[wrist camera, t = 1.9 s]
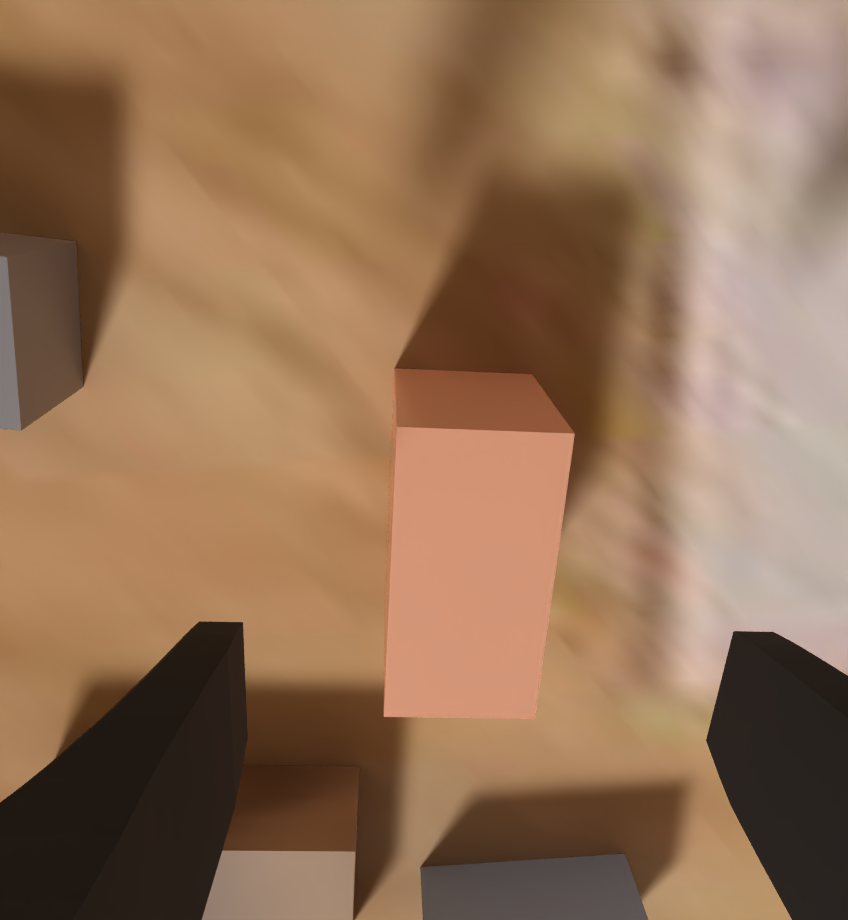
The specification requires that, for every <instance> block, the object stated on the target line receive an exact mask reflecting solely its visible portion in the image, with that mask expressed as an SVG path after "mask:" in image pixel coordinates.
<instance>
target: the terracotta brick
mask: <svg viewBox="0 0 848 920" xmlns="http://www.w3.org/2000/svg"><path fill="white" fill-rule="evenodd" d="M574 436H575V433H574V432H573V430H572V429H571V428H570V426H569V425H568V424H567V422H566V421H565V419H564V418H563V417H562V415H561V414H560V412H559V411H558V410H557V408H556V407H555V406H554V404H553V403H552V401H551V400H550V399H549V397H548V396H547V394H546V393H545V392H544V390H543V389H542V387H541V386H540V385H539V383H538V382H537V381H536V379H535V378H534V376H533V375H532V374H514V373H491V372H468V371H445V370H422V369H399V368H394V391H393V414H392V438H391V461H390V485H389V508H388V532H387V555H386V578H385V602H384V717H434V718H516V719H535V715H536V708H537V701H538V693H539V686H540V679H541V672H542V665H543V658H544V650H545V643H546V636H547V629H548V622H549V615H550V608H551V600H552V593H553V586H554V579H555V572H556V565H557V557H558V550H559V543H560V536H561V529H562V522H563V514H564V507H565V500H566V493H567V486H568V479H569V471H570V464H571V457H572V450H573V443H574Z"/></svg>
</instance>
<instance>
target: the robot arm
mask: <svg viewBox="0 0 848 920" xmlns="http://www.w3.org/2000/svg"><path fill="white" fill-rule="evenodd" d="M706 741H707V744H708V747H709V749H710V752H711V755H712V758H713V760H714V763H715V766H716V769H717V771H718V774H719V777H720V779H721V782H722V784H723V787H724V789H725V792H726V794H727V797H728V799H729V802H730V804H731V807H732V808H733V810H734V812H735V814H736V816H737V818H738V820H739V822H740V824H741V826H742V828H743V830H744V831H745V833H746V835H747V837H748V839H749V841H750V843H751V845H752V847H753V848H754V850H755V852H756V854H757V856H758V858H759V860H760V862H761V863H762V865H763V867H764V869H765V871H766V873H767V874H768V876H769V878H770V880H771V882H772V884H773V885H774V887H775V889H776V891H777V893H778V895H779V896H780V898H781V900H782V902H783V904H784V906H785V907H786V909H787V911H788V913H789V915H790V917H791V918H792V920H848V676H847V675H845V674H844V673H842V672H841V671H839V670H838V669H836V668H834V667H833V666H831V665H830V664H828V663H826V662H825V661H823V660H821V659H820V658H818V657H817V656H815V655H813V654H812V653H810V652H808V651H807V650H805V649H803V648H802V647H800V646H798V645H796V644H795V643H793V642H791V641H789V640H788V639H786V638H784V637H782V636H780V635H778V634H776V633H774V632H742V631H734V632H733V636H732V640H731V644H730V648H729V652H728V656H727V660H726V664H725V668H724V672H723V676H722V680H721V684H720V688H719V692H718V696H717V700H716V704H715V708H714V711H713V715H712V719H711V723H710V727H709V731H708V735H707V739H706ZM246 742H247V714H246V689H245V664H244V638H243V622H198V623H197V624H196V625H195V626H194V627H193V628H192V629H191V630H190V631H189V632H188V633H187V634H186V635H185V636H184V637H183V638H182V639H181V640H180V641H179V642H178V643H177V644H176V645H175V646H174V647H173V648H172V649H171V650H170V651H169V652H168V653H167V654H166V655H165V656H164V657H163V658H162V659H161V660H160V661H159V663H158V664H157V665H156V666H155V667H154V668H153V669H152V670H151V671H150V672H149V673H148V674H147V675H146V676H145V677H144V678H143V679H142V680H141V681H140V682H139V683H138V684H137V685H136V686H134V687H133V688H132V689H131V690H130V691H129V692H128V693H127V694H126V695H125V696H124V697H123V698H122V699H121V700H120V701H119V702H118V703H117V704H116V705H115V706H114V707H113V708H112V709H111V710H109V711H108V712H107V713H106V714H105V715H104V716H103V717H102V718H101V719H100V720H99V721H98V722H97V723H96V724H94V725H93V726H92V727H91V728H90V729H89V730H88V731H87V732H85V733H84V734H83V735H82V736H81V737H80V738H78V739H77V740H76V741H75V742H74V743H73V744H72V745H70V746H69V747H68V748H67V749H66V750H65V751H64V752H62V753H61V754H60V755H59V756H58V757H57V758H56V759H54V760H53V761H52V762H51V763H50V764H49V765H47V766H46V767H45V768H44V769H43V770H41V771H40V772H39V773H38V774H36V775H35V776H34V777H33V778H31V779H30V780H29V781H28V782H27V783H25V784H24V785H23V786H22V787H20V788H19V789H18V790H16V791H15V792H14V793H13V794H11V795H10V796H8V797H7V798H6V799H4V800H3V801H2V802H0V920H202V917H203V914H204V911H205V907H206V904H207V900H208V897H209V894H210V890H211V887H212V884H213V880H214V877H215V874H216V870H217V867H218V864H219V860H220V857H221V853H222V850H223V847H224V843H225V840H226V836H227V833H228V829H229V826H230V823H231V819H232V816H233V812H234V809H235V805H236V799H237V794H238V788H239V783H240V778H241V772H242V766H243V760H244V754H245V748H246Z"/></svg>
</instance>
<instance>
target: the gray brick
mask: <svg viewBox="0 0 848 920" xmlns="http://www.w3.org/2000/svg"><path fill="white" fill-rule="evenodd" d="M82 387H83V369H82V348H81V326H80V305H79V284H78V262H77V241H70V240H62V239H53V238H45V237H36V236H28V235H20V234H11V233H3V232H0V429H11V430H23V429H24V428H26V427H27V426H28V425H30V424H31V423H33V422H34V421H35V420H37V419H38V418H40V417H41V416H43V415H44V414H45V413H47V412H48V411H50V410H51V409H52V408H54V407H55V406H57V405H58V404H60V403H61V402H62V401H64V400H65V399H67V398H68V397H69V396H71V395H72V394H74V393H75V392H77V391H78V390H79V389H81V388H82Z"/></svg>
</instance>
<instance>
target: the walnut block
mask: <svg viewBox="0 0 848 920" xmlns="http://www.w3.org/2000/svg"><path fill="white" fill-rule="evenodd" d="M358 791H359V766H308V765H243V766H242V772H241V778H240V783H239V788H238V794H237V799H236V805H235V809H234V812H233V816H232V819H231V823H230V826H229V829H228V833H227V836H226V840H225V843H224V847H223V850H222V853H221V857H220V860H219V864H218V867H217V870H216V874H215V877H214V880H213V884H212V887H211V890H210V894H209V897H208V900H207V904H206V907H205V911H204V914H203V917H202V920H353V916H354V891H355V866H356V841H357V816H358Z"/></svg>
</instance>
